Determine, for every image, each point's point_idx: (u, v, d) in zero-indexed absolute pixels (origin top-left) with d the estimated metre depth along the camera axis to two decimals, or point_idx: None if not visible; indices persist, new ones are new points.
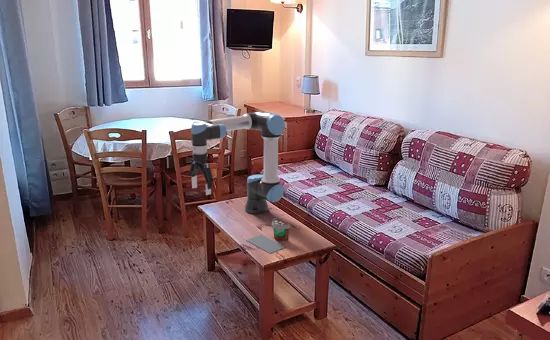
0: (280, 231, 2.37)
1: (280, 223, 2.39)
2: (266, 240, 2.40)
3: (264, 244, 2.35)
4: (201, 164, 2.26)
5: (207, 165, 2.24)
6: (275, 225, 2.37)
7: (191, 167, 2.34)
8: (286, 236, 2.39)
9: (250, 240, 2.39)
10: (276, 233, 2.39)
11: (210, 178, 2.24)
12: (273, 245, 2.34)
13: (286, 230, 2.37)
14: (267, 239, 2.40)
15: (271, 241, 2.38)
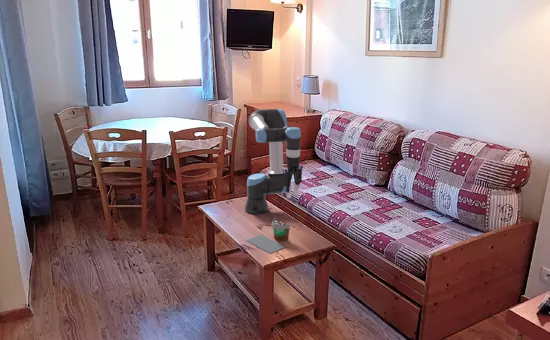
0: (280, 231, 2.37)
1: (280, 223, 2.39)
2: (266, 240, 2.40)
3: (264, 244, 2.35)
4: None
5: (284, 171, 2.33)
6: (275, 225, 2.37)
7: (297, 172, 2.42)
8: (286, 236, 2.39)
9: (250, 240, 2.39)
10: (276, 233, 2.39)
11: (284, 182, 2.35)
12: (273, 245, 2.34)
13: (286, 230, 2.37)
14: (267, 239, 2.40)
15: (271, 241, 2.38)
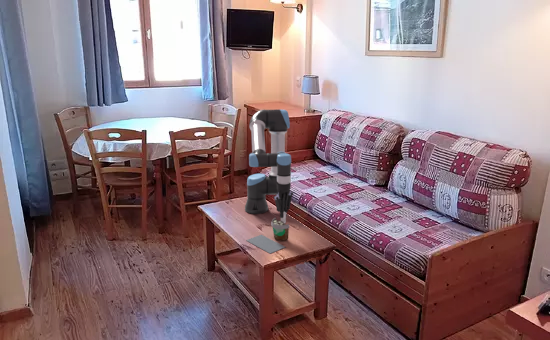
0: (279, 231, 2.37)
1: (279, 223, 2.39)
2: (266, 240, 2.40)
3: (264, 244, 2.35)
4: None
5: (275, 198, 2.33)
6: (274, 225, 2.37)
7: None
8: (286, 236, 2.39)
9: (250, 240, 2.39)
10: (276, 233, 2.39)
11: (277, 208, 2.36)
12: (273, 245, 2.34)
13: (286, 230, 2.37)
14: (267, 239, 2.40)
15: (271, 241, 2.38)
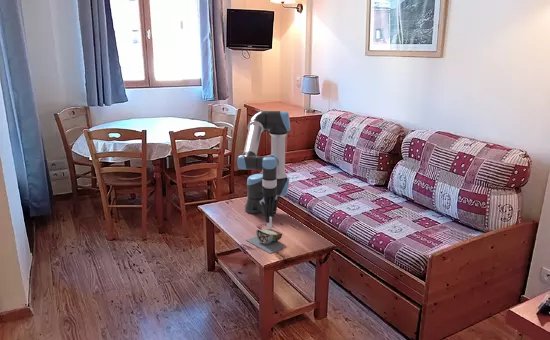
0: (271, 241, 2.35)
1: (264, 236, 2.34)
2: None
3: (264, 244, 2.35)
4: None
5: (260, 203, 2.26)
6: None
7: None
8: (278, 236, 2.35)
9: (250, 240, 2.39)
10: None
11: (263, 213, 2.30)
12: (273, 245, 2.34)
13: (273, 237, 2.32)
14: None
15: None
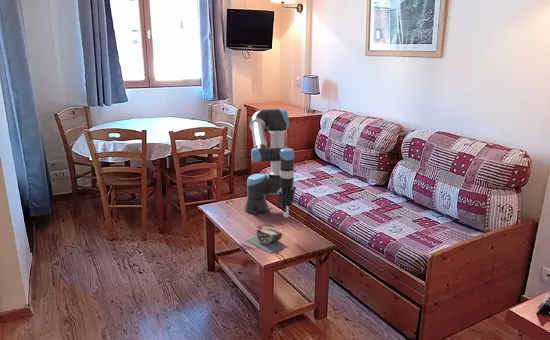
0: (271, 241, 2.35)
1: (264, 236, 2.34)
2: None
3: (264, 244, 2.35)
4: None
5: (278, 192, 2.35)
6: None
7: (289, 193, 2.43)
8: (278, 236, 2.35)
9: (250, 240, 2.39)
10: None
11: (280, 203, 2.38)
12: (273, 245, 2.34)
13: (273, 237, 2.32)
14: None
15: None
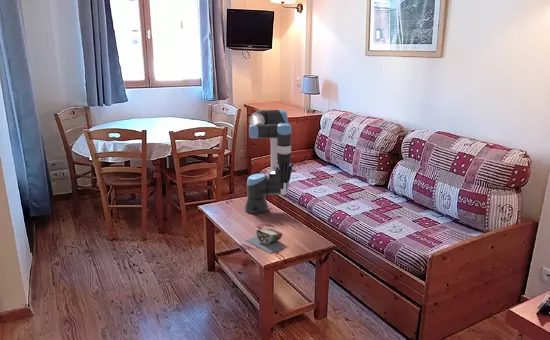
0: (271, 241, 2.35)
1: (264, 236, 2.34)
2: None
3: (264, 244, 2.35)
4: None
5: (275, 168, 2.32)
6: None
7: None
8: (278, 236, 2.35)
9: (250, 240, 2.39)
10: None
11: (277, 179, 2.36)
12: (273, 245, 2.34)
13: (273, 237, 2.32)
14: None
15: None
